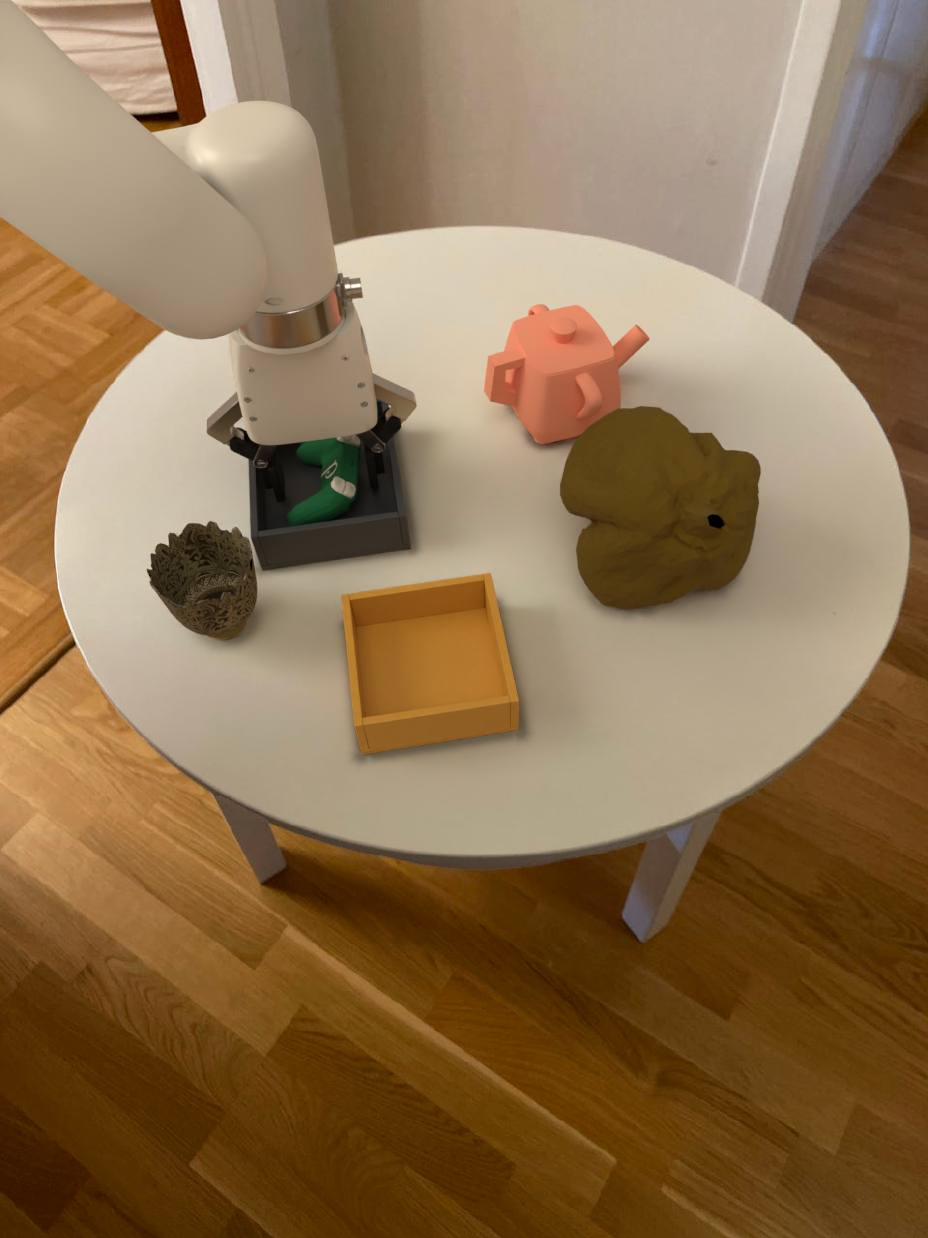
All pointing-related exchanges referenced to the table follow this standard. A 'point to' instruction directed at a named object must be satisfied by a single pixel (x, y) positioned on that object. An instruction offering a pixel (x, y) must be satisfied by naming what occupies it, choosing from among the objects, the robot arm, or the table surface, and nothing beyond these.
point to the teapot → (559, 371)
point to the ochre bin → (428, 664)
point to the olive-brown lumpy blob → (658, 508)
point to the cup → (206, 579)
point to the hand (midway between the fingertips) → (327, 482)
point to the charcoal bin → (354, 533)
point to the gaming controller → (329, 479)
